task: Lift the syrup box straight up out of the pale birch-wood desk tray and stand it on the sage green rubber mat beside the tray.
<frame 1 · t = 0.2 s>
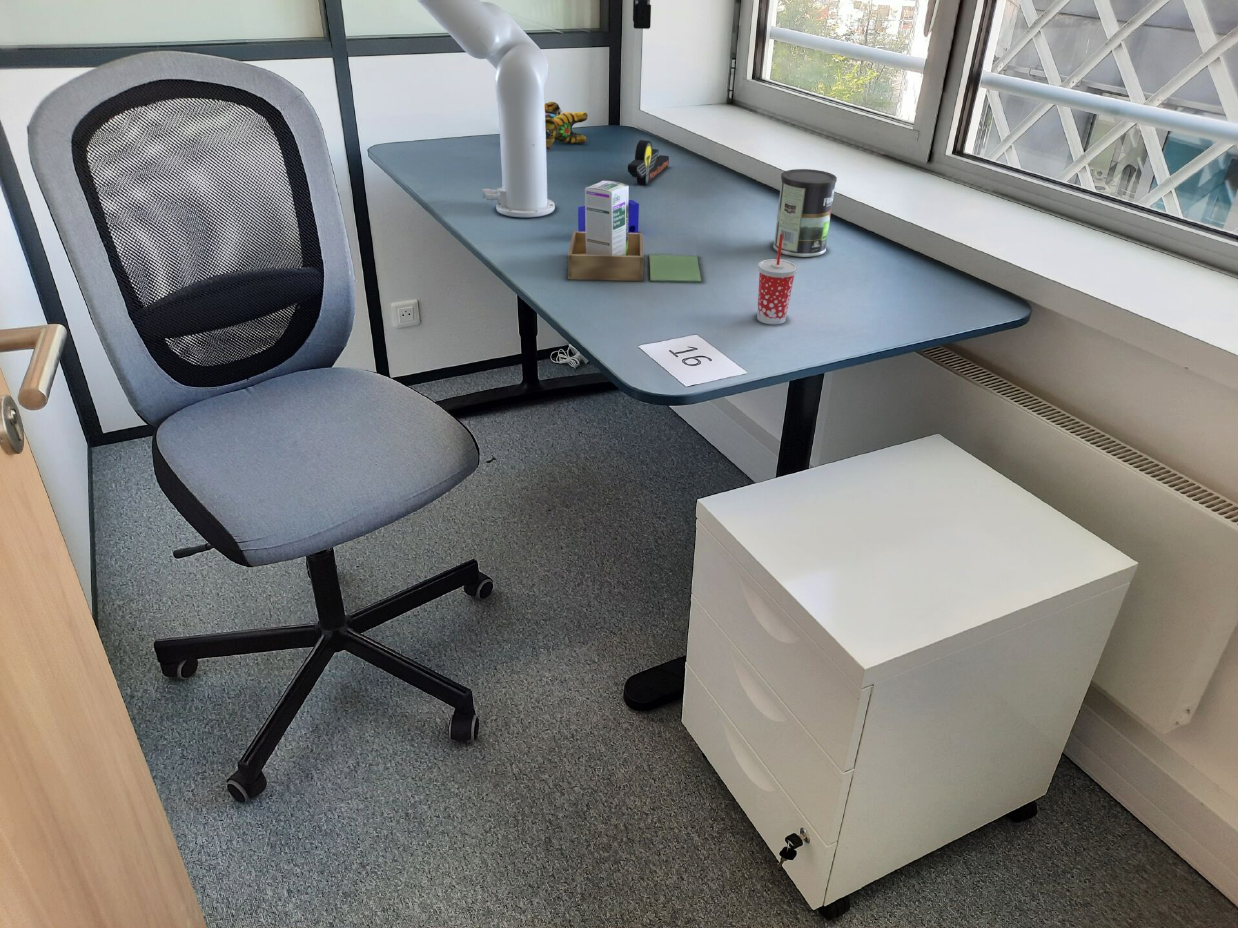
hand: (641, 25, 170), 37 cm above the table, tool pointing down, fingers open, 9 cm apart
cable clip: (606, 235, 178), on the table
mat: (674, 268, 162), on the table
coffee can: (798, 249, 173), on the table
syrup box: (606, 266, 162), resting on tray
decorative sign: (648, 180, 213), on the table
tray: (606, 267, 162), on the table
beverage cup: (771, 320, 143), on the table
dog figurine: (549, 143, 243), on the table
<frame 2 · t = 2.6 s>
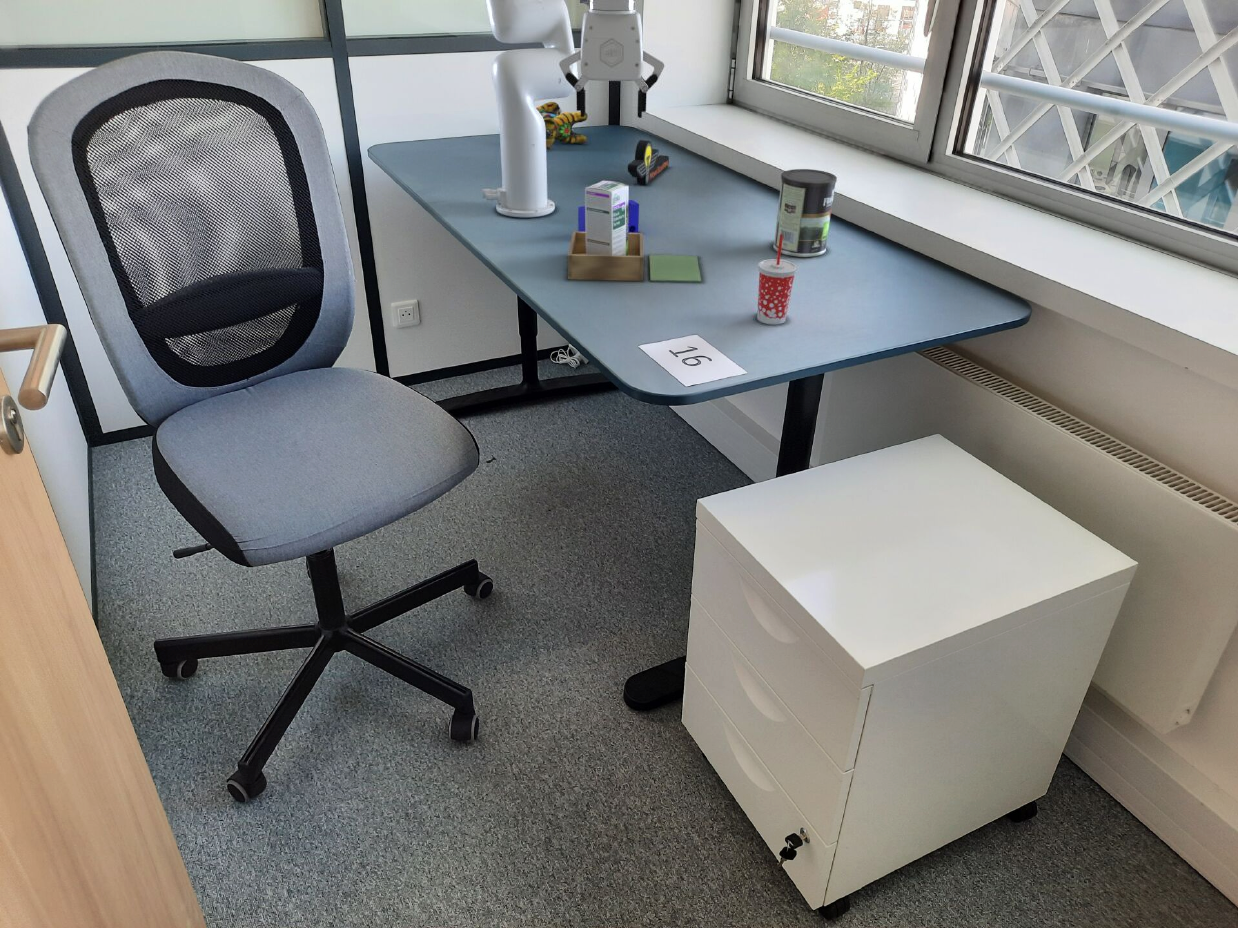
hand: (611, 116, 149), 26 cm above the table, tool pointing down, fingers open, 9 cm apart
nothing on the table moved.
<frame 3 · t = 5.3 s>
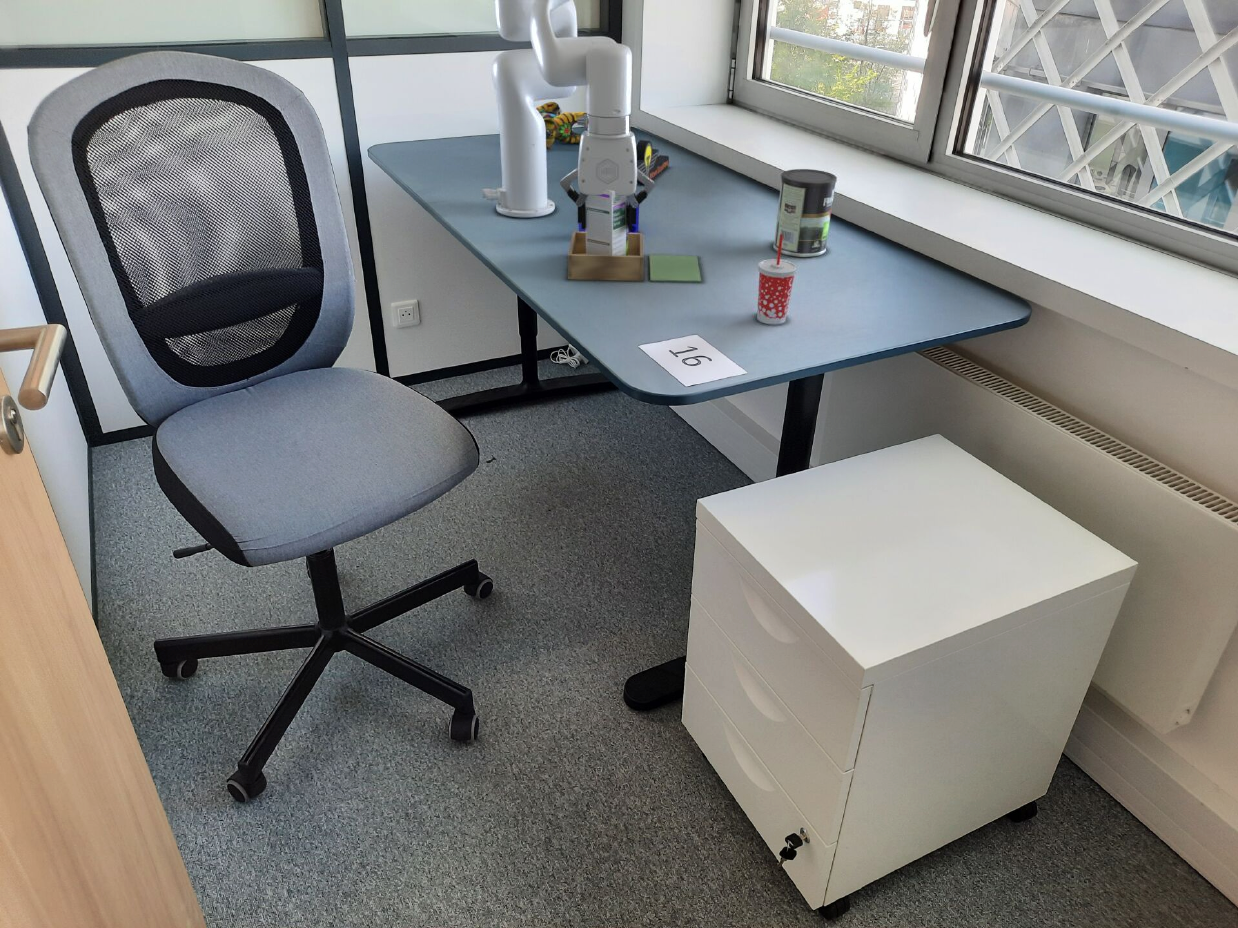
hand: (607, 227, 158), 8 cm above the table, tool pointing down, fingers closed on syrup box, 7 cm apart
syrup box: (606, 266, 162), resting on tray, touching gripper
everything else where it was.
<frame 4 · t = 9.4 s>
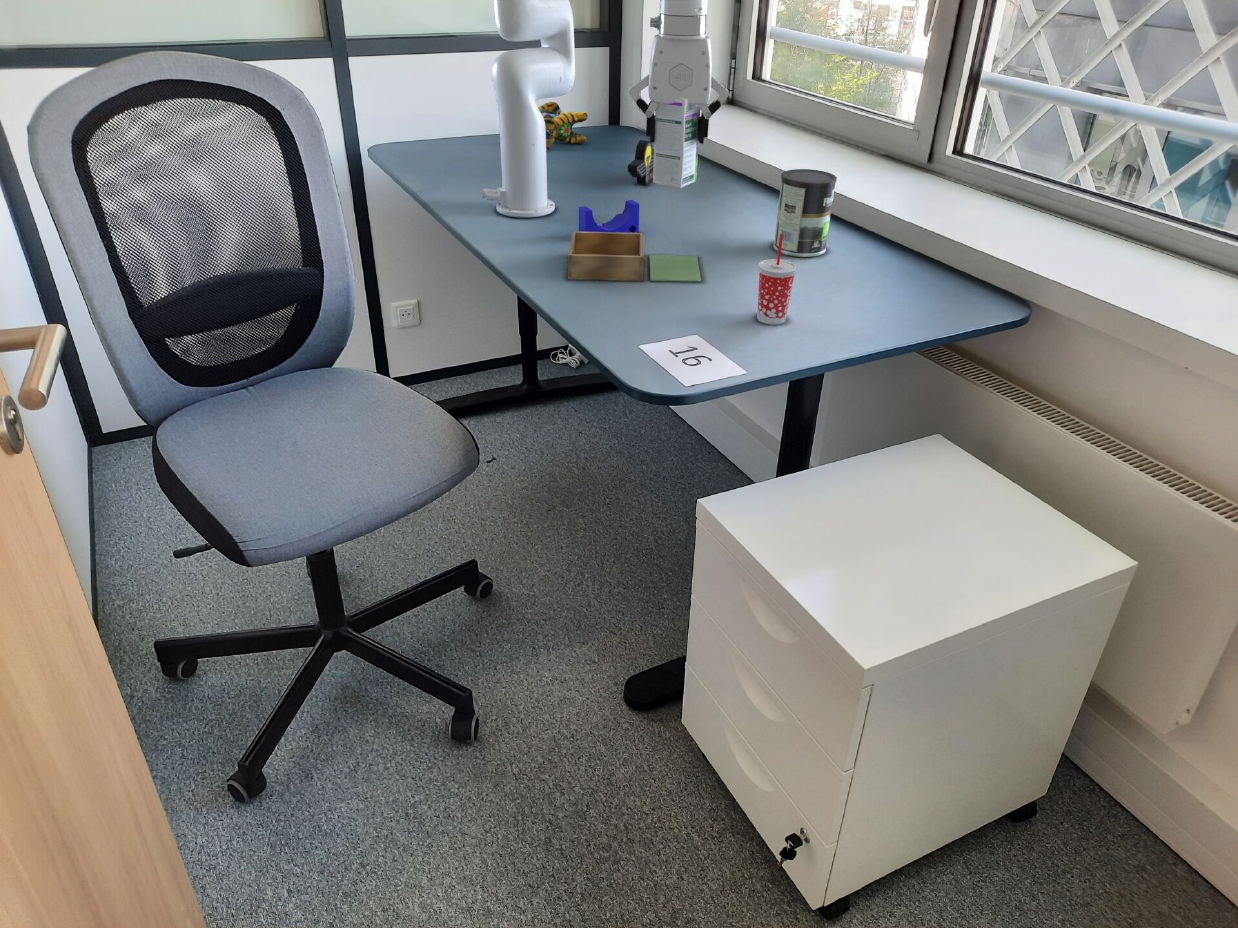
hand: (676, 140, 149), 23 cm above the table, tool pointing down, fingers closed on syrup box, 7 cm apart
syrup box: (674, 184, 153), point 15 cm above the table, touching gripper
everything else where it was.
when the fingers open (7 cm above the table, at t = 13.3 s): syrup box stays where it is, resting on mat.
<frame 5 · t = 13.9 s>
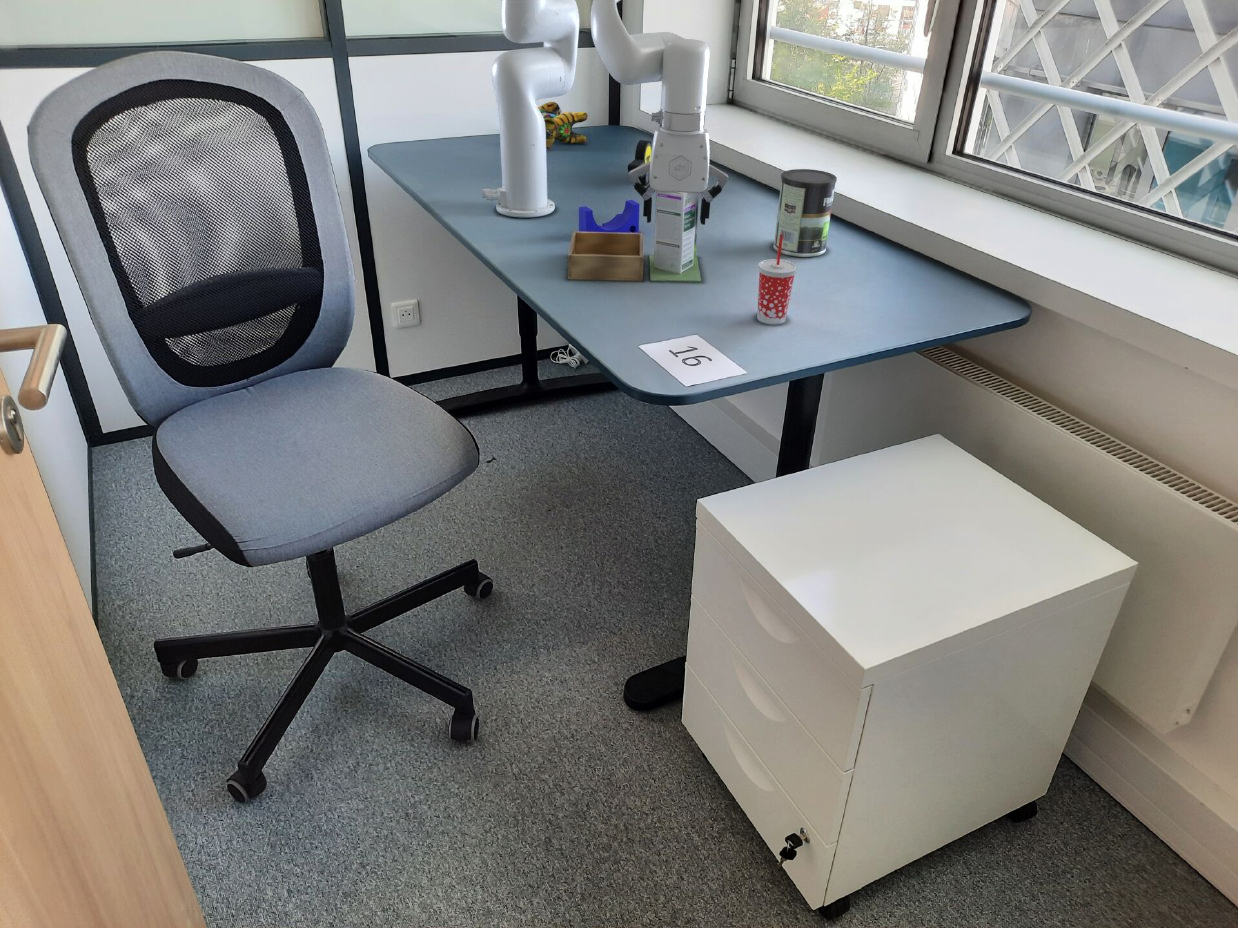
hand: (675, 221, 157), 9 cm above the table, tool pointing down, fingers open, 9 cm apart
syrup box: (673, 268, 162), resting on mat
everything else where it was.
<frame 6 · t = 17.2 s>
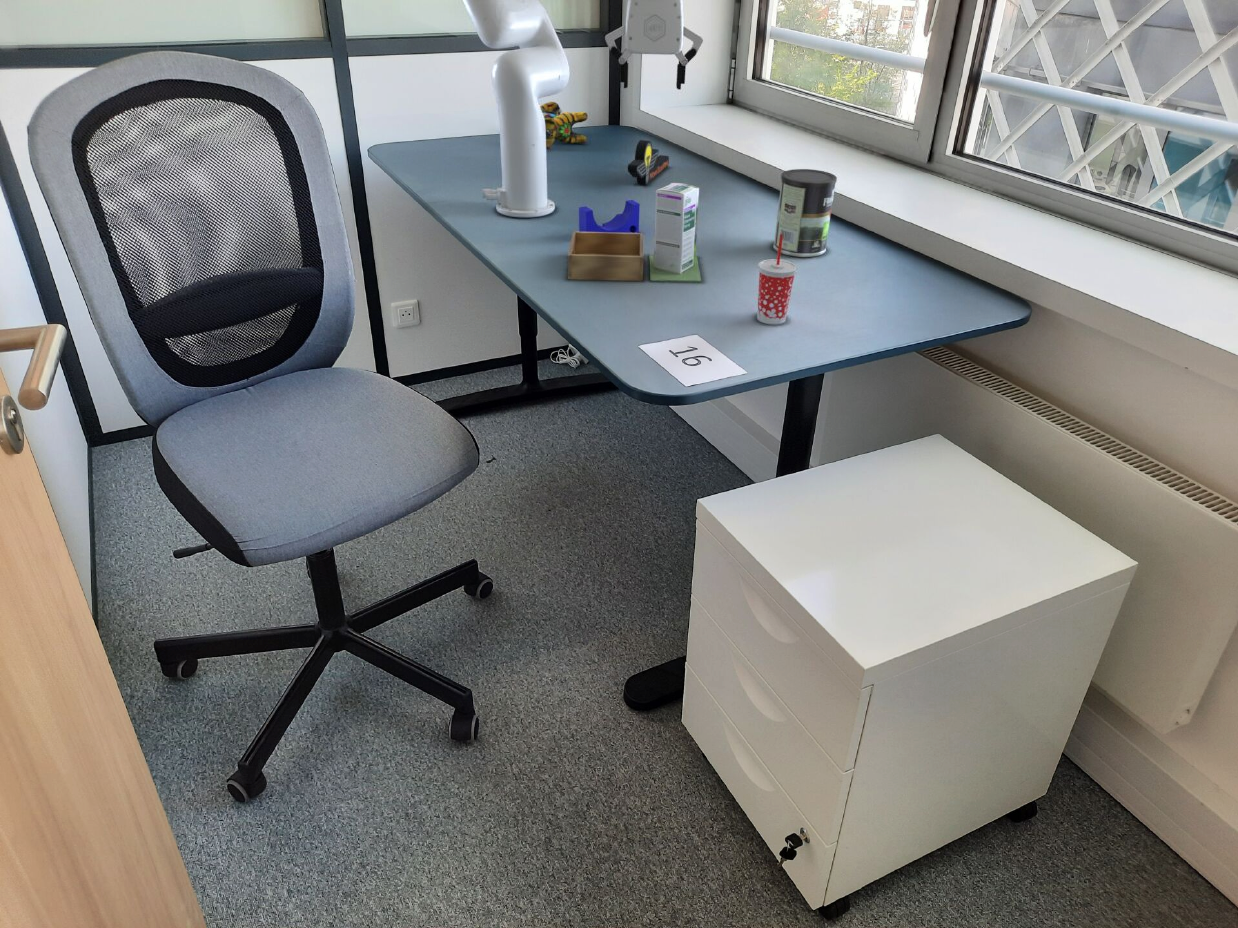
hand: (652, 87, 160), 28 cm above the table, tool pointing down, fingers open, 9 cm apart
nothing on the table moved.
at the end: syrup box inside the target area on the mat (0.1 cm from its centre), point 0.1 cm above the mat's base; syrup box tilted 0°; syrup box touching mat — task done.
